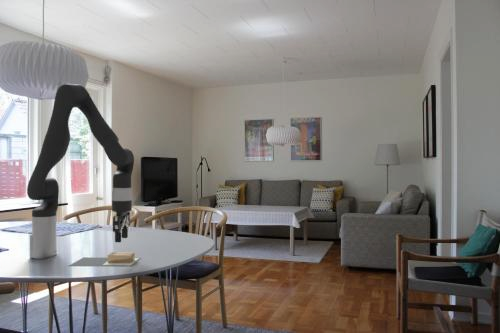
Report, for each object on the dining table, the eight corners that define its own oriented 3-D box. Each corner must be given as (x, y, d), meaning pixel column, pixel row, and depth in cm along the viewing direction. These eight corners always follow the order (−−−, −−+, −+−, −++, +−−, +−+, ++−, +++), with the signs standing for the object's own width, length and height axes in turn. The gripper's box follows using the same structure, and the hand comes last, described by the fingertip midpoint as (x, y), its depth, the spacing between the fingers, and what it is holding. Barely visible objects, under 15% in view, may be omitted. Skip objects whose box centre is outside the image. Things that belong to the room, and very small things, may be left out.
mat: (68, 267, 157) (68, 265, 157) (83, 258, 171) (83, 256, 171) (131, 267, 157) (131, 265, 157) (141, 258, 171) (141, 257, 171)
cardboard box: (131, 262, 162) (131, 255, 162) (107, 262, 162) (107, 254, 162) (134, 259, 167) (134, 252, 167) (112, 259, 167) (112, 252, 167)
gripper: (126, 201, 157) (125, 244, 157) (136, 197, 171) (135, 236, 172) (106, 200, 157) (105, 243, 157) (118, 197, 171) (117, 236, 172)
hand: (121, 240), depth 165 cm, fingers open, 8 cm apart
